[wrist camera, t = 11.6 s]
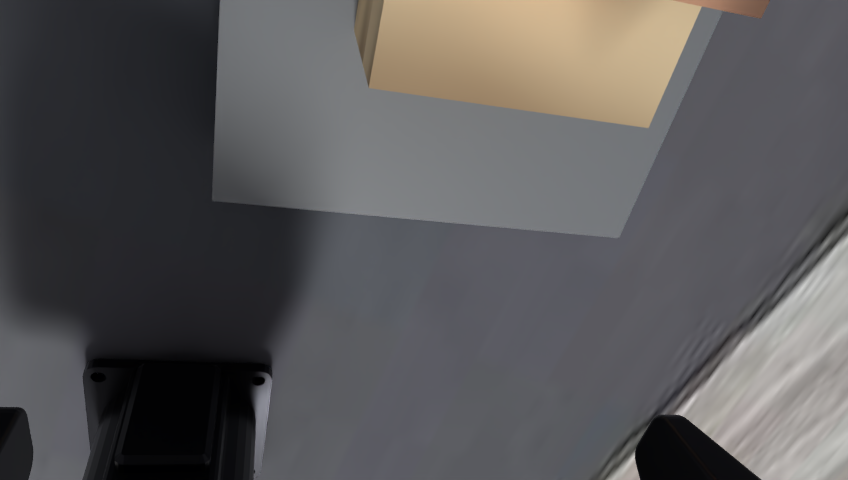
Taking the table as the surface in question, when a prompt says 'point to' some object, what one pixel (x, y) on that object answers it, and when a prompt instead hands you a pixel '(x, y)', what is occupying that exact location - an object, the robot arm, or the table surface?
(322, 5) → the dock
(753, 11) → the block
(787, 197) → the table surface
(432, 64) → the tray
